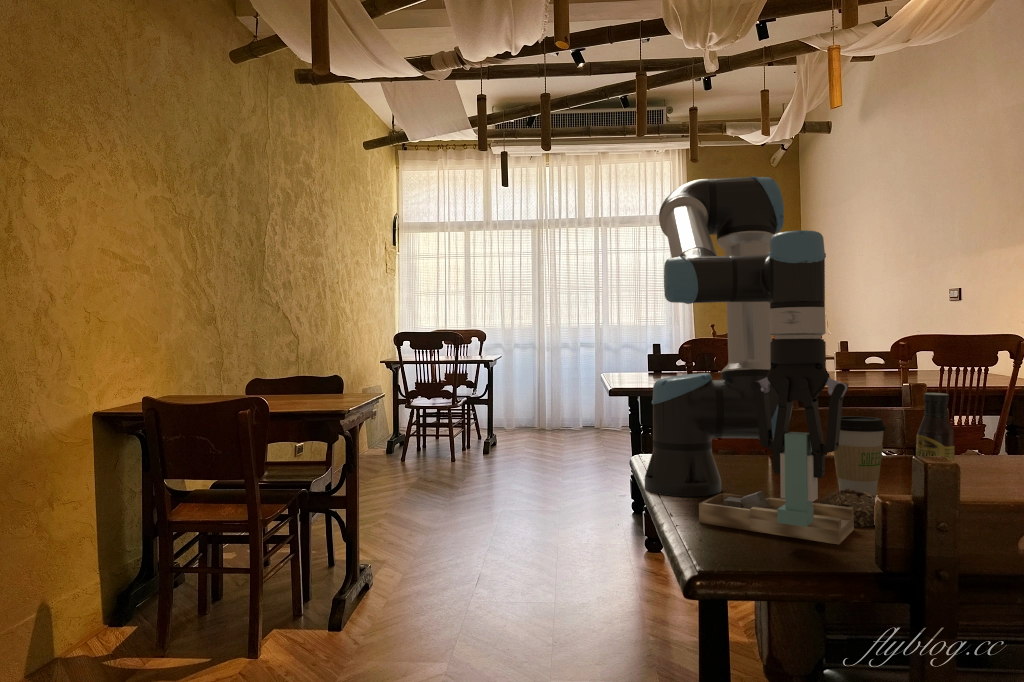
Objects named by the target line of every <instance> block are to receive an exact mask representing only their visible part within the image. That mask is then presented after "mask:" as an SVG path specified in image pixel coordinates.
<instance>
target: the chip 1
mask: <svg viewBox="0 0 1024 682" xmlns="http://www.w3.org/2000/svg"><path fill="white" fill-rule="evenodd" d="M740 499H741V498H736V497H729V498H727V499H725V500H724V506H730V507H737V508H744V507H743V505H742V502H741V500H740Z"/></svg>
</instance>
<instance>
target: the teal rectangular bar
mask: <svg viewBox="0 0 1024 682" xmlns="http://www.w3.org/2000/svg"><path fill="white" fill-rule="evenodd" d="M811 452H812V447H811V441H810V436H809V432H802V431H800V432H799V431H788V433H786V434H785V498H784V499H785V505H783V506H782V507H780V508H778V509H777V523H782V524H789V525H796V526H803V527H807V526H808V525H809V524H811V523H812V522H813V521H814V509H813V503H814V501H813V502H811V501H807V455H810V454H811Z"/></svg>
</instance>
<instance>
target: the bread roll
mask: <svg viewBox="0 0 1024 682" xmlns="http://www.w3.org/2000/svg"><path fill="white" fill-rule="evenodd" d="M875 497H877V495H876V496H875V495H873V494H869V493H866V492H859V491H855V490H851V489H846V490H840V491H835V490H834V491H833V492H830V493H829V494H827V495H826V496H825V497H823V498H822V499H819V501H817V503H820V504H828V505H836V506H844V507H852V508H854V528H871V527H875V526H874V505H875Z"/></svg>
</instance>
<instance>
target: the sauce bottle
mask: <svg viewBox="0 0 1024 682" xmlns="http://www.w3.org/2000/svg"><path fill="white" fill-rule="evenodd" d="M923 401H924V413H923V415H924V416H923V418H922V419H921V423H920V425H919V428H918V430H917V433H916V439H915V441H916V443H915V444H916V447H915V457H916V456H944V457H948V458H949V459H950V460H952V461H954V462H955V448H956V447H955V430H954V428H953V426H952V424H951V423H950V421H949V418H948V417H949V414H948V407H949V406H948V405H949V404H948V403H949V401H950V395H949V394H948V393H944V392H943V393H942V392H925V393H924V395H923Z"/></svg>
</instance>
